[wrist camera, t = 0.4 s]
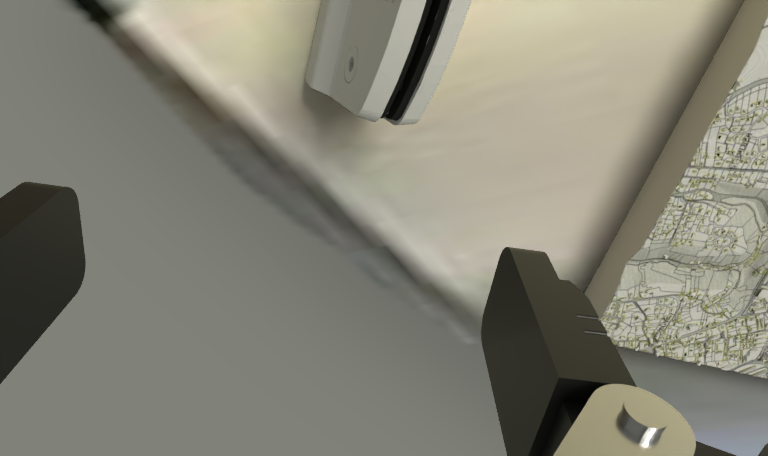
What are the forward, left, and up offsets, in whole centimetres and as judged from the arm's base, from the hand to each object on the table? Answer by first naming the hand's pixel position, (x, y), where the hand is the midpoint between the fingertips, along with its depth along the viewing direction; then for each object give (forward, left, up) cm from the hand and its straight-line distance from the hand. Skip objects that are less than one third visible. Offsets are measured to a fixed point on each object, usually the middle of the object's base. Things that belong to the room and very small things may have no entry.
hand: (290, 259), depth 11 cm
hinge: (-4, +1, -29) cm, 29 cm away
